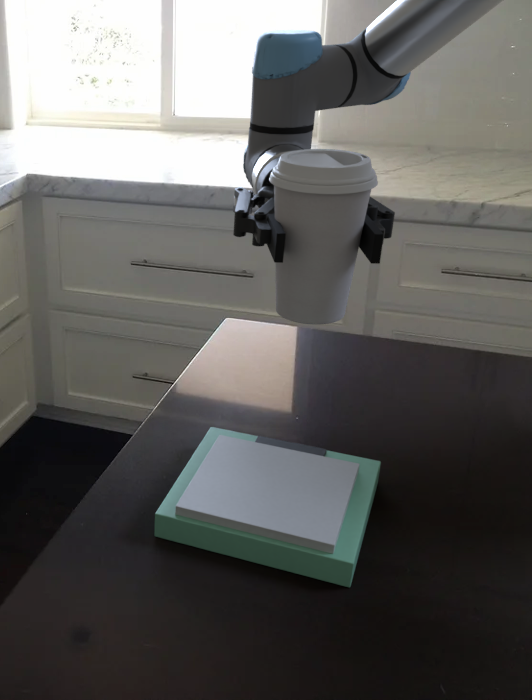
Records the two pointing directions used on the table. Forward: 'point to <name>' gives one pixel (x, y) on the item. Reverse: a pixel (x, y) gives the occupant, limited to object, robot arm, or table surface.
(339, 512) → the kitchen scale
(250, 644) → the table surface
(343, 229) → the coffee cup
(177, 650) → the table surface
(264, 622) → the table surface
